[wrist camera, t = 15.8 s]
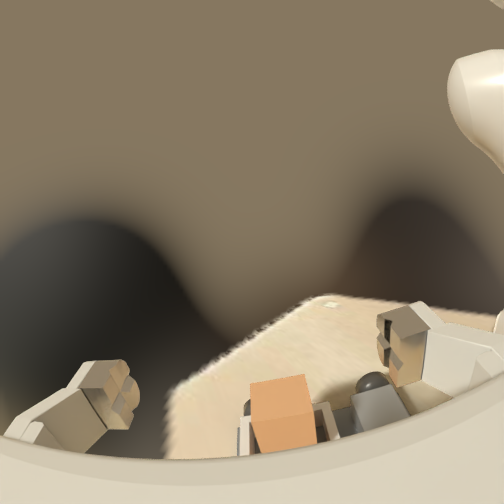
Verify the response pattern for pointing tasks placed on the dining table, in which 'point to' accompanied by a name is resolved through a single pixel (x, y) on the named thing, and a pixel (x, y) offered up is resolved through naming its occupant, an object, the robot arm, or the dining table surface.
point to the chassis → (341, 414)
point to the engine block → (282, 414)
